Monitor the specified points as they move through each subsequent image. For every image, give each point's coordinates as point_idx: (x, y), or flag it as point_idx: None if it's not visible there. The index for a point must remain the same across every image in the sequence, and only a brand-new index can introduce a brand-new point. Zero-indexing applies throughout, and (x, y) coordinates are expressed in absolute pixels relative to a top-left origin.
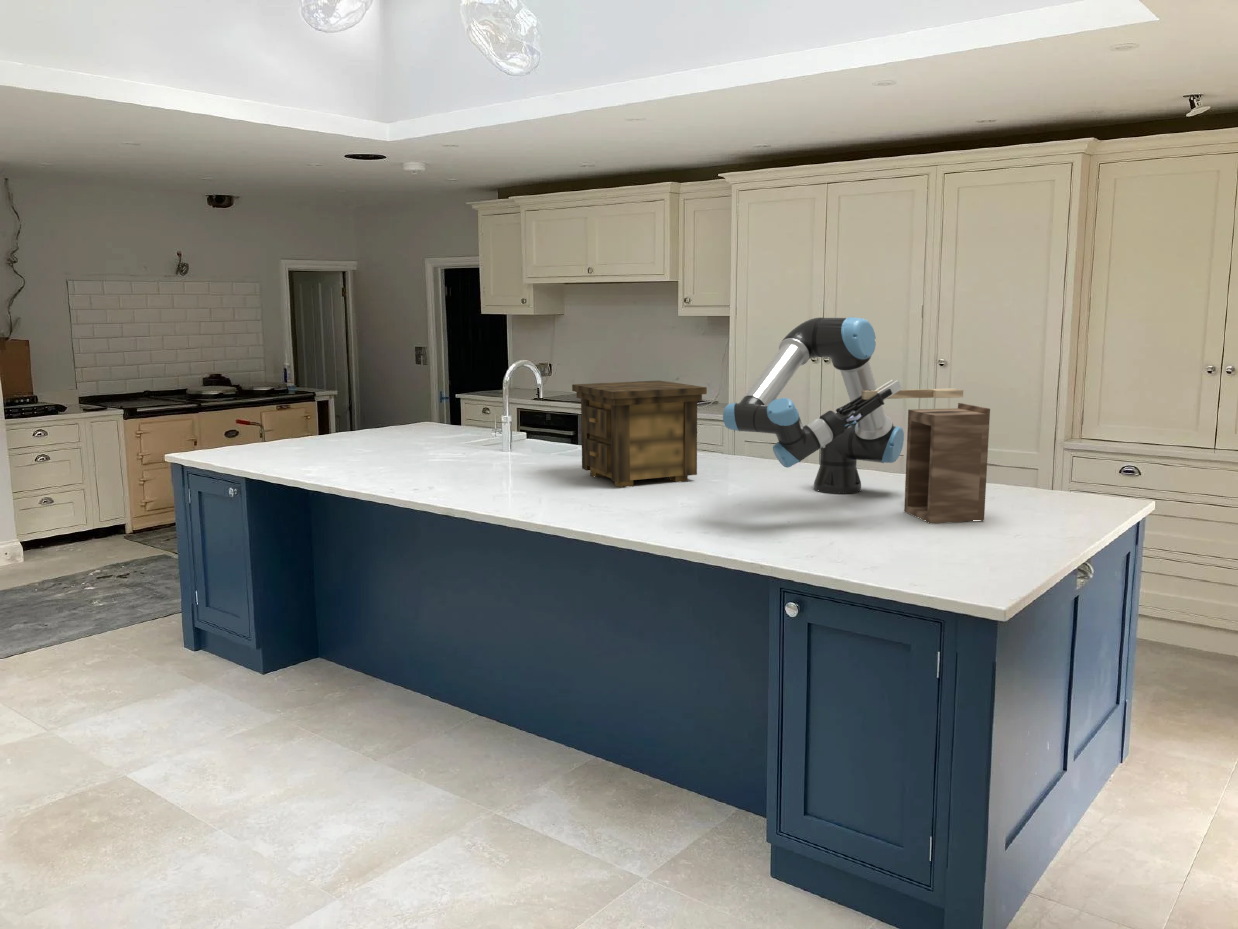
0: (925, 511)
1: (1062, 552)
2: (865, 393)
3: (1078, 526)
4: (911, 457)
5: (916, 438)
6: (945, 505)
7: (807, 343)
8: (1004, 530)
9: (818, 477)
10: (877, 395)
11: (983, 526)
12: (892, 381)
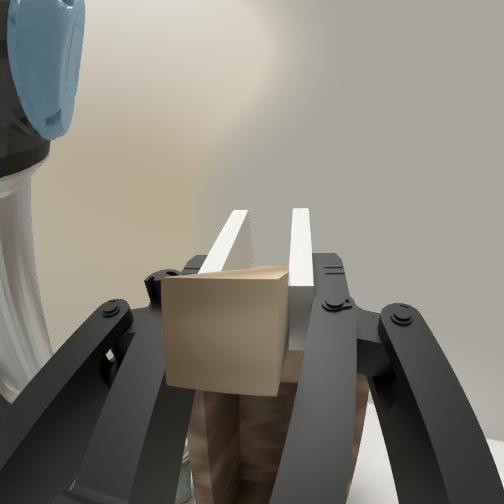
0: None
1: (496, 448)
2: (279, 310)
3: (369, 422)
4: (211, 464)
5: (211, 416)
6: None
7: None
8: (391, 479)
9: None
10: (355, 310)
11: (363, 494)
12: (247, 219)
